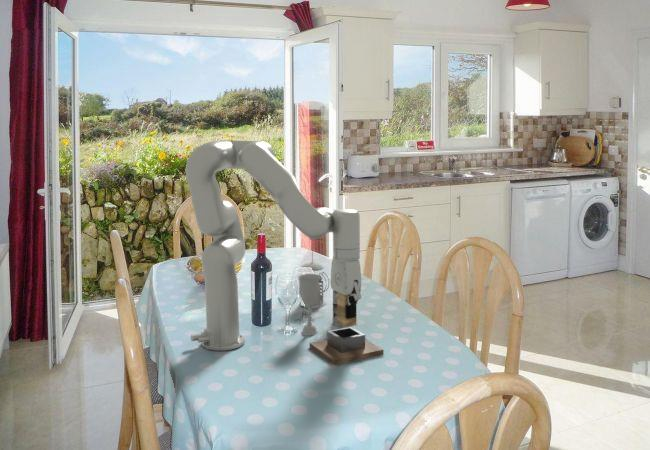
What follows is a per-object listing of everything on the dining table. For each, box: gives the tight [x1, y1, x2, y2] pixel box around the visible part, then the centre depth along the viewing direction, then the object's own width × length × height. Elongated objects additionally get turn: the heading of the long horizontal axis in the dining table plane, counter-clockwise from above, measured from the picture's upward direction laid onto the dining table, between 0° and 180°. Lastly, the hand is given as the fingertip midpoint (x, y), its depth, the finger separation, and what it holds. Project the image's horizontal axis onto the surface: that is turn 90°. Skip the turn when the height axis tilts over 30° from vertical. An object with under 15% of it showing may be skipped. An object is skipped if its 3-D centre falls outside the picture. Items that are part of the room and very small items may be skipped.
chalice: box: [297, 273, 322, 336], centre depth 198 cm, size 7×7×18 cm
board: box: [309, 338, 384, 366], centre depth 184 cm, size 16×15×2 cm
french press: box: [298, 238, 330, 309], centre depth 226 cm, size 10×12×25 cm
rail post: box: [337, 292, 357, 328], centre depth 181 cm, size 4×4×12 cm
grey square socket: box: [326, 326, 366, 353], centre depth 183 cm, size 8×8×4 cm
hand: (346, 314), depth 182 cm, fingers closed on rail post, 4 cm apart
